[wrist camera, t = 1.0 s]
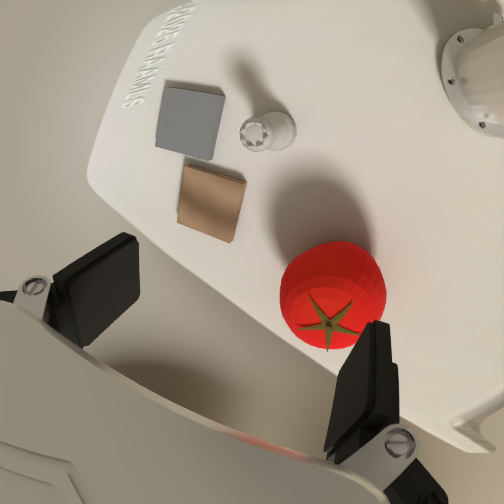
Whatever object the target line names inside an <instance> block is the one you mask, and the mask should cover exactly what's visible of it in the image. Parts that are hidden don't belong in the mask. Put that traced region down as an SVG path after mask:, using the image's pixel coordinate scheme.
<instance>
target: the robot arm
mask: <svg viewBox="0 0 504 504" xmlns="http://www.w3.org/2000/svg"><path fill="white" fill-rule="evenodd" d="M457 39H458V40H459V41H460V42H458V40H457ZM441 75H442V81H443V84H444V88H445V91H446V93H447V95H448V97H449V100H450V101H451V103H452V105H453V106H454V108H455V109H456V111H457V112H458V113H459V115H460V116H461V117H462V118H463V119H464V120H465V121H466V122H467V123H468V124H469V125H470V126H471V127H473V128H474V129H476V130H477V131H479V132H481V133H483V134H485V135H487V136H491V137H495V138H504V21H503V16H501V15H500V14H498V13H495V12H493V13H492V26H489V27H487V28H486V29H484V30H483V29H479V28H468V29H463V30H461V31H459V32H457V33H455V34H454V35H453V36H452V37H451V38H450V39H449V40H448V41H447V42H446V44H445V47H444V49H443V51H442V56H441ZM448 80H450V81H451V84H449V83H448ZM479 122H480V123H481V126H479ZM53 280H54V282H53V283H50V280H49V279H48V278H47V277H45V276H39V275H37V276H32V277H29V278H27V279H26V280H24V281H23V282H22V283H21V285H20V286H19V289H18V290H17V291H3V292H0V504H448V497H447V495H446V493H445V491H444V490H443V489H442V488H441V486H440V485H439V484H438V483H437V482H436V480H435V479H434V478H433V477H432V476H431V475H430V473H429V472H428V471H427V470H426V469H425V468H424V466H423V465H422V464H421V463H420V461H419V460H418V459H417V458H416V456H417V454H418V452H419V448H420V447H419V440H418V437H417V435H416V434H415V433H414V431H413V430H412V429H410V428H409V427H407V426H405V425H403V424H399V378H398V366H397V364H396V363H393V362H392V351H391V336H390V325H389V324H388V323H385V322H381V321H378V320H374V321H373V322H372V323H371V322H368V323H367V324H366V326H365V328H364V330H363V331H362V333H361V335H360V337H359V339H358V340H357V342H356V344H355V346H354V347H353V349H352V351H351V352H350V354H349V356H348V358H347V359H346V361H345V363H344V364H343V366H342V367H341V369H340V371H339V374H338V377H337V383H336V389H335V395H334V401H333V407H332V412H331V416H330V422H329V426H328V431H327V436H326V441H325V445H324V452H327V457H326V460H323V459H320V458H316V457H313V456H310V455H307V454H304V453H301V452H297V451H294V450H291V449H287V448H284V447H281V446H278V445H275V444H272V443H269V442H266V441H264V440H261V439H258V438H255V437H253V436H250V435H247V434H244V433H242V432H239V431H236V430H234V429H231V428H228V427H226V426H224V425H221V424H219V423H217V422H214V421H212V420H209V419H207V418H205V417H203V416H200V415H198V414H196V413H194V412H192V411H189V410H187V409H185V408H183V407H181V406H179V405H177V404H175V403H173V402H171V401H169V400H167V399H165V398H163V397H161V396H159V395H157V394H155V393H153V392H152V391H149V390H148V389H146V388H144V387H142V386H141V385H139V384H137V383H135V382H133V381H132V380H130V379H128V378H127V377H125V376H123V375H122V374H120V373H118V372H117V371H115V370H113V369H111V368H110V367H108V366H107V365H105V364H104V363H102V362H101V361H99V360H97V359H96V358H94V357H93V356H91V355H90V354H88V353H87V352H85V351H84V350H82V348H83V347H84V346H88V345H90V344H91V343H92V342H93V341H94V340H95V339H96V338H97V337H98V336H99V335H100V334H101V333H102V332H103V331H104V330H106V329H107V328H108V327H109V326H110V325H111V324H112V323H113V322H114V321H115V320H116V319H117V318H118V317H119V316H120V315H122V314H123V313H124V312H125V311H126V310H127V309H128V308H129V307H130V306H131V305H132V304H134V303H135V302H136V301H137V300H138V298H139V296H140V276H139V243H138V241H137V239H136V237H135V236H133V235H131V234H128V233H125V232H122V233H120V234H118V235H117V236H115V237H113V238H112V239H110V240H108V241H107V242H105V243H103V244H102V245H100V246H98V247H97V248H95V249H93V250H92V251H90V252H89V253H87V254H85V255H84V256H82V257H81V258H79V259H77V260H76V261H74V262H73V263H71V264H70V265H68V266H66V267H65V268H63V269H62V270H60V271H59V272H58V273H56V274H54V275H53ZM329 461H331V462H334V463H331V462H329Z"/></svg>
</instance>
